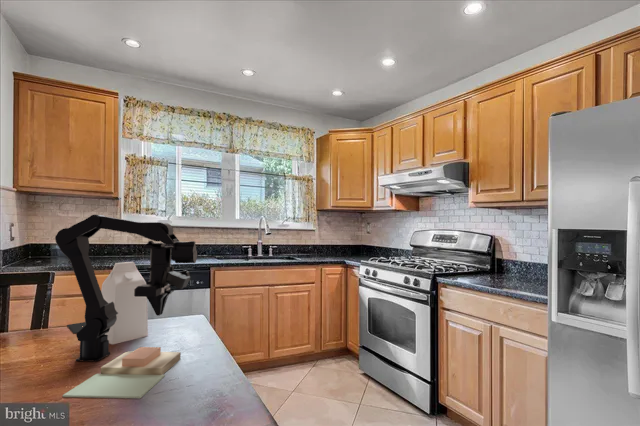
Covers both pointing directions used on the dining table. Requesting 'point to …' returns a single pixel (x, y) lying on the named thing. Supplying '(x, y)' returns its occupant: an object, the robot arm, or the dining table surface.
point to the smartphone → (76, 327)
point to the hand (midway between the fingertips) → (159, 314)
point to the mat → (115, 386)
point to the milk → (126, 303)
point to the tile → (141, 356)
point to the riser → (152, 368)
